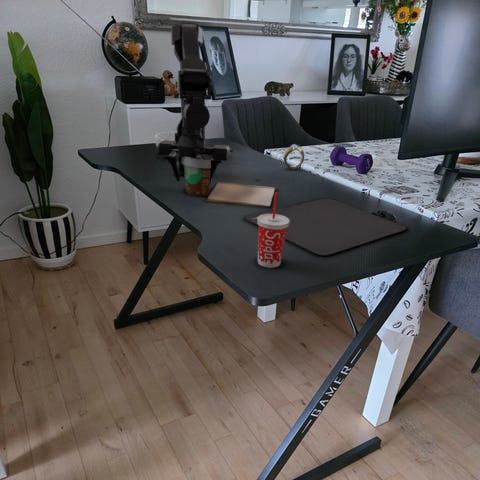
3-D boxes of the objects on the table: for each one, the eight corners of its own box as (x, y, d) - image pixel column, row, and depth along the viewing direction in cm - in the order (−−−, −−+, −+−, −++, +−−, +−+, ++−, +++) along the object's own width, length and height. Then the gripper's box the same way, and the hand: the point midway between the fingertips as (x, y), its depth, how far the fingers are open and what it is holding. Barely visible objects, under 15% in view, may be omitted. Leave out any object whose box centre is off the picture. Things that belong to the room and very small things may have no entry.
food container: (176, 186, 129) (175, 150, 124) (196, 184, 131) (196, 149, 126) (188, 199, 120) (188, 161, 114) (210, 197, 122) (211, 160, 116)
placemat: (206, 201, 119) (206, 199, 119) (218, 183, 134) (218, 181, 133) (269, 207, 118) (269, 205, 118) (274, 189, 132) (275, 187, 132)
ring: (284, 170, 151) (286, 145, 147) (281, 167, 154) (284, 143, 149) (303, 170, 152) (307, 146, 148) (301, 168, 155) (304, 143, 151)
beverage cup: (249, 264, 88) (254, 194, 80) (260, 253, 93) (266, 186, 85) (278, 272, 86) (286, 200, 79) (288, 260, 91) (297, 191, 83)
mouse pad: (327, 198, 127) (328, 197, 127) (409, 228, 110) (409, 228, 110) (241, 217, 110) (241, 216, 110) (322, 257, 93) (322, 256, 92)
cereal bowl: (146, 158, 154) (145, 136, 151) (171, 149, 167) (170, 129, 164) (190, 165, 149) (190, 143, 145) (212, 156, 162) (212, 135, 159)
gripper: (149, 123, 110) (152, 187, 118) (224, 130, 108) (222, 194, 116) (162, 117, 119) (164, 176, 127) (231, 122, 117) (229, 182, 125)
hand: (194, 182), depth 124 cm, fingers open, 8 cm apart
